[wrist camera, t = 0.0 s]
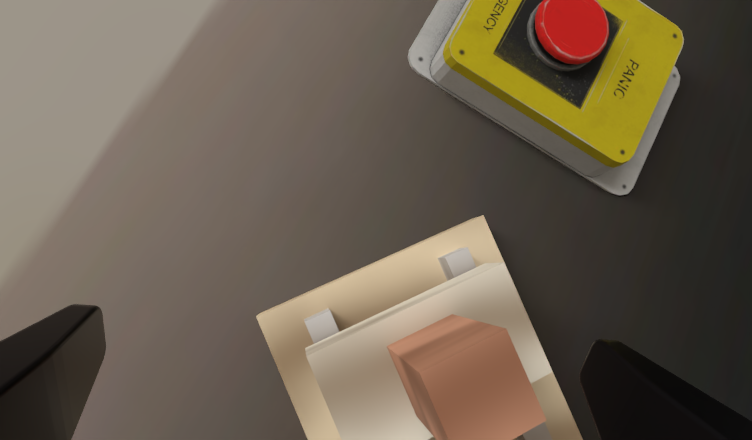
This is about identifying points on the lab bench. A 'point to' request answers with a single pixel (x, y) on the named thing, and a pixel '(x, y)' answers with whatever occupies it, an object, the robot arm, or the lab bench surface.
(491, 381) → the slider
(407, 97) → the lab bench surface
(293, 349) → the press bed
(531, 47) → the emergency button
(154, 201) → the lab bench surface
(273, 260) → the lab bench surface
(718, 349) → the lab bench surface
